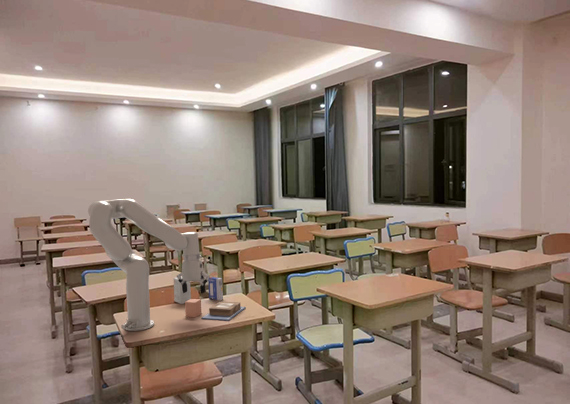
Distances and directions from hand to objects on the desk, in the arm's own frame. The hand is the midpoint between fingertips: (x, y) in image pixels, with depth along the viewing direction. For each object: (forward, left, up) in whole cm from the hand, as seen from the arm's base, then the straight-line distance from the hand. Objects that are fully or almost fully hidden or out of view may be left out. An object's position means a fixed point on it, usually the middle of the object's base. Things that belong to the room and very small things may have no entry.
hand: (194, 292), depth 197 cm
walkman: (+27, +2, -11) cm, 30 cm away
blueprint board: (+4, -14, -11) cm, 18 cm away
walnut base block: (+5, -14, -11) cm, 18 cm away
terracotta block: (-1, 0, -11) cm, 11 cm away
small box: (+19, +18, -11) cm, 29 cm away
